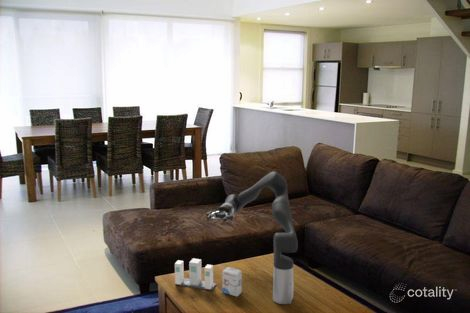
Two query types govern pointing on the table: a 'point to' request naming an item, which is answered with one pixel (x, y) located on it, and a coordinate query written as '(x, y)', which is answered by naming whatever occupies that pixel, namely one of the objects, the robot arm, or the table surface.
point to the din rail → (201, 285)
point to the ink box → (232, 281)
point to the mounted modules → (180, 274)
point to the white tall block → (195, 271)
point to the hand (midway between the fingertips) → (216, 219)
